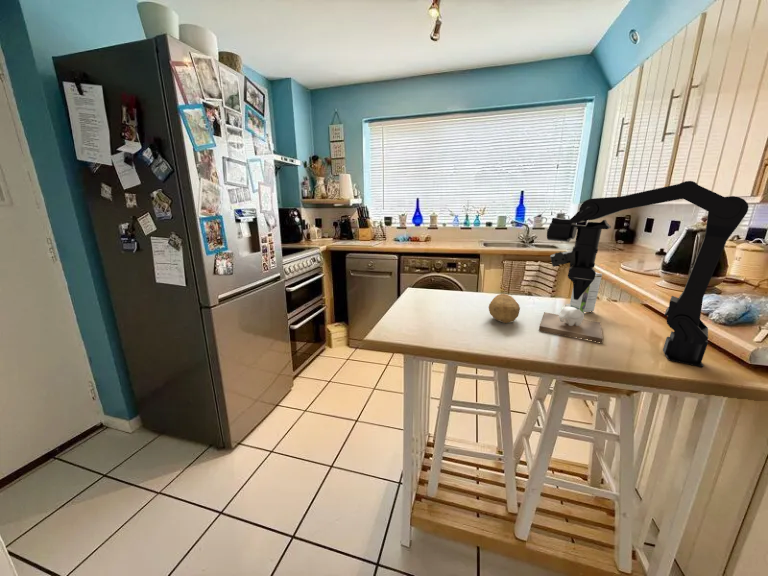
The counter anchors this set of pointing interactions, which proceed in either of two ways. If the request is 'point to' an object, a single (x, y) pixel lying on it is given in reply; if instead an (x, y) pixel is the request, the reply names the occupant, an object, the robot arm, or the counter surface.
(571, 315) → the elephant figurine
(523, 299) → the counter surface
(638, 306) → the counter surface
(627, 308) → the counter surface
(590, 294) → the syrup box
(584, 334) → the walnut board
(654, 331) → the counter surface
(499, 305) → the potato
